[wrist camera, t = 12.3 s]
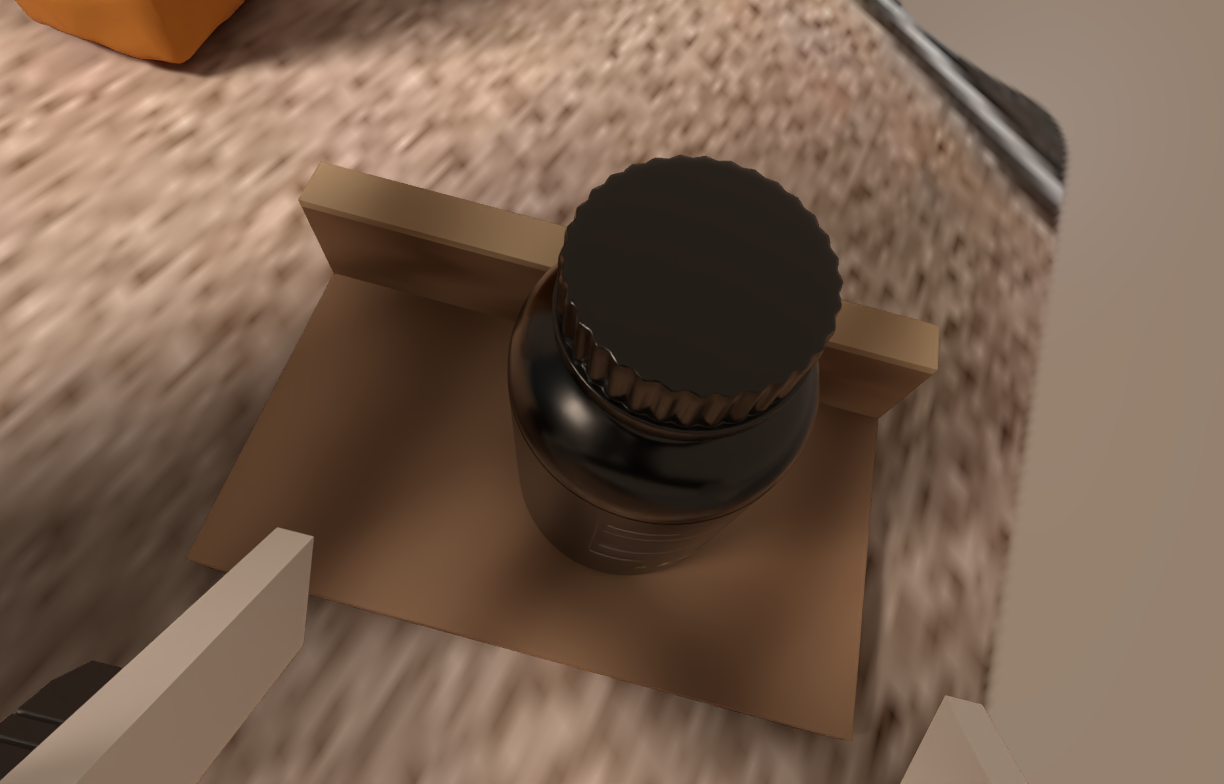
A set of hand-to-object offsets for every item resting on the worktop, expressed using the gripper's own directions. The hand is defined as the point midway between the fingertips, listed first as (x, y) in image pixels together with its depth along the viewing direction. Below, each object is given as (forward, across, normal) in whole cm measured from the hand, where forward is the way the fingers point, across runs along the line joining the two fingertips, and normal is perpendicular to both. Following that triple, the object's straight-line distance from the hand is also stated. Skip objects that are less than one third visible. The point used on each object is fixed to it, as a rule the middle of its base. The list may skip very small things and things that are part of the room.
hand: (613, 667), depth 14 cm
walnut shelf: (+10, -2, -1) cm, 10 cm away
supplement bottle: (+9, 0, 0) cm, 9 cm away
